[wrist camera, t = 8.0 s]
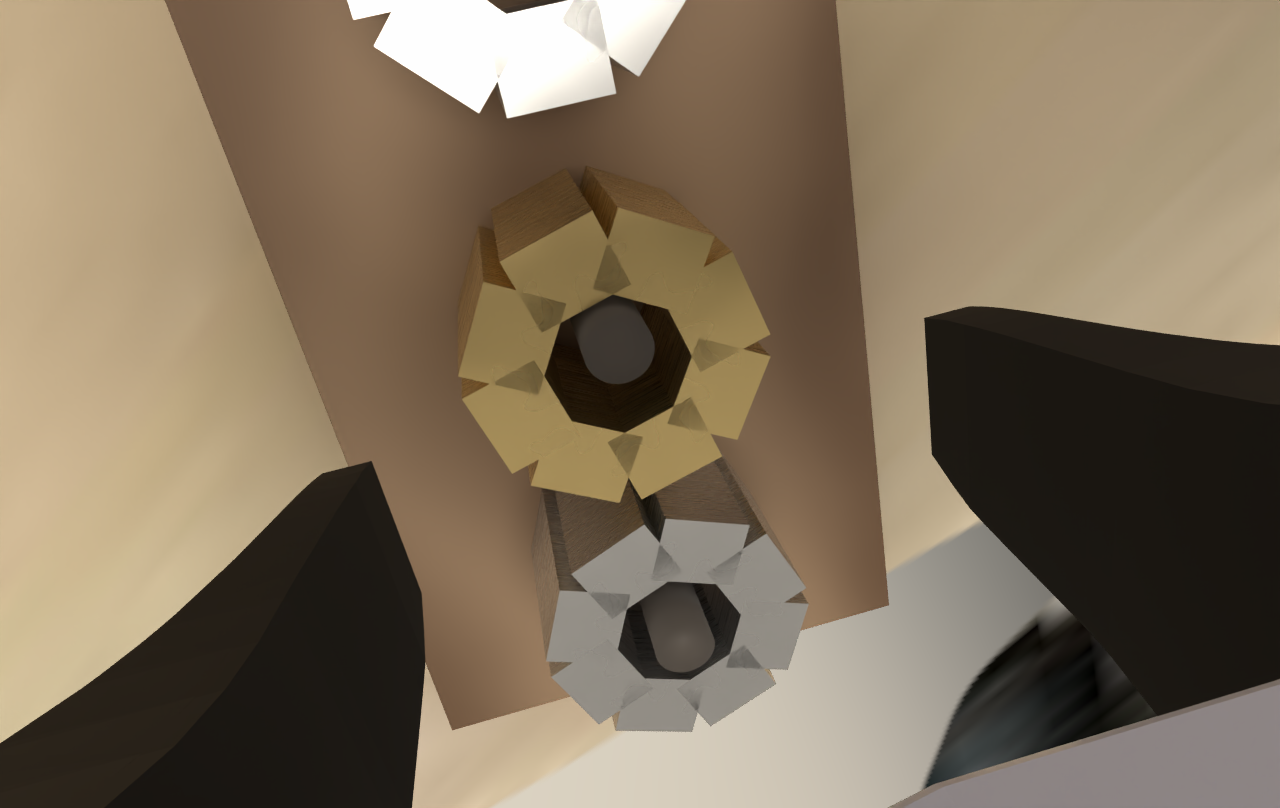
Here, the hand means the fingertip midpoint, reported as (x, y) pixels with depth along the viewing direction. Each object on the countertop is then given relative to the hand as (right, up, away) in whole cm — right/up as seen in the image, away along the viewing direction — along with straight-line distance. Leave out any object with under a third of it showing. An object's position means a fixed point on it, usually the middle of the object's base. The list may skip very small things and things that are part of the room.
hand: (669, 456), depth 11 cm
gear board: (-2, +4, +9) cm, 10 cm away
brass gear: (-2, +3, +8) cm, 8 cm away
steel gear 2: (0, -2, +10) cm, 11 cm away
